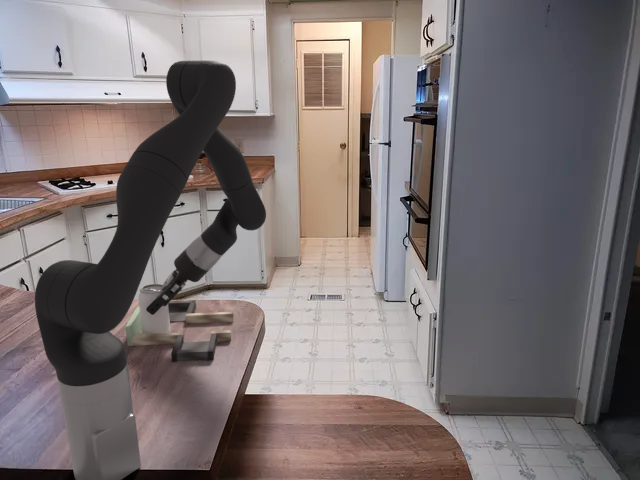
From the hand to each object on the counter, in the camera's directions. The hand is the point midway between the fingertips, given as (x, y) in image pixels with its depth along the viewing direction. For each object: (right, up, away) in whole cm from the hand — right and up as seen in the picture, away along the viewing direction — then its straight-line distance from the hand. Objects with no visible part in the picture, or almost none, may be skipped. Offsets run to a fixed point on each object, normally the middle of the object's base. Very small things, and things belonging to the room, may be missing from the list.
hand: (153, 304), depth 110 cm
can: (0, -8, +2) cm, 8 cm away
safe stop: (-5, -7, +2) cm, 9 cm away
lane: (+7, -7, +3) cm, 11 cm away
